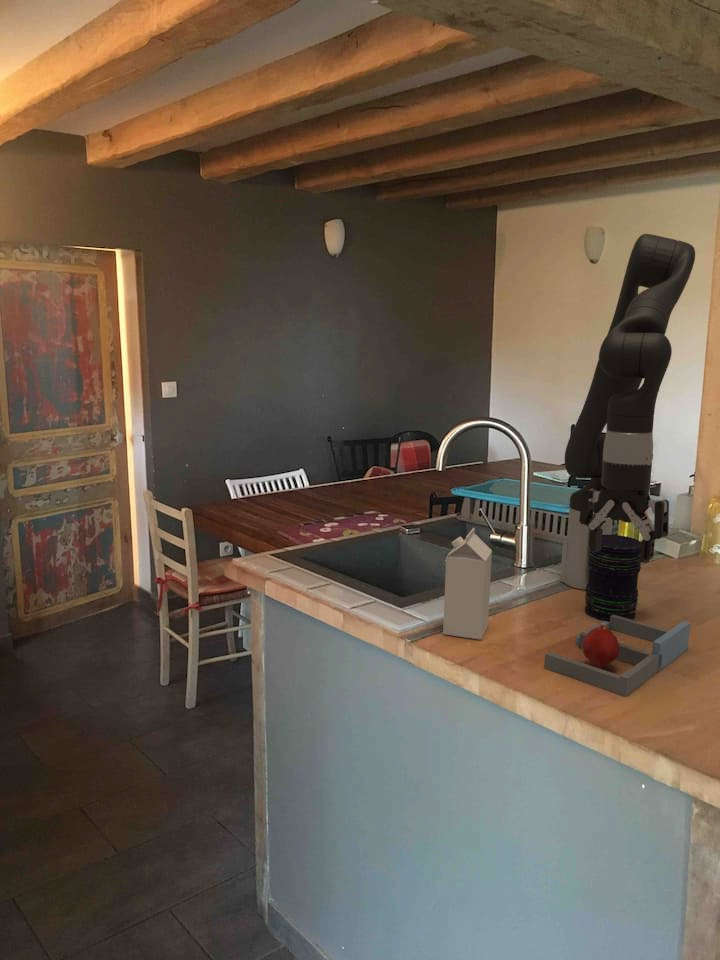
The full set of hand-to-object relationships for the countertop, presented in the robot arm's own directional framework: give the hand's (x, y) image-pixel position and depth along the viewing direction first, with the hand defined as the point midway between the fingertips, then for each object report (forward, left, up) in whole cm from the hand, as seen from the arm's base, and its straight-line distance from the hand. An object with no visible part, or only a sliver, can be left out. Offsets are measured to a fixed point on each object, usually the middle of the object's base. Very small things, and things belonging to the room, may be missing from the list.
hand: (620, 556), depth 127 cm
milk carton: (-26, -6, -19) cm, 33 cm away
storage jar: (-11, +22, -19) cm, 31 cm away
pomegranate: (-1, -3, -19) cm, 19 cm away
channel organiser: (-1, +3, -19) cm, 19 cm away
